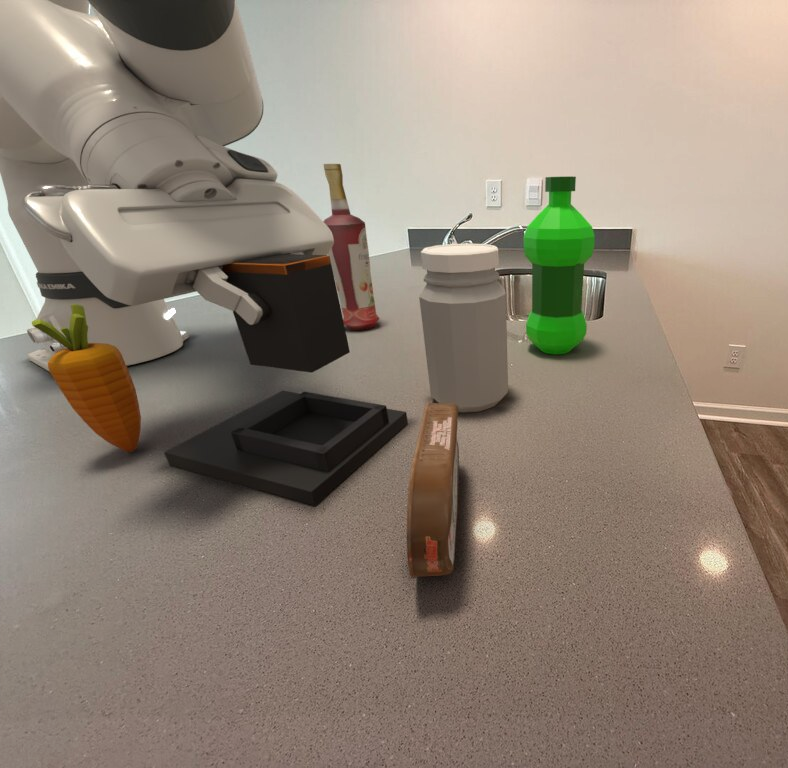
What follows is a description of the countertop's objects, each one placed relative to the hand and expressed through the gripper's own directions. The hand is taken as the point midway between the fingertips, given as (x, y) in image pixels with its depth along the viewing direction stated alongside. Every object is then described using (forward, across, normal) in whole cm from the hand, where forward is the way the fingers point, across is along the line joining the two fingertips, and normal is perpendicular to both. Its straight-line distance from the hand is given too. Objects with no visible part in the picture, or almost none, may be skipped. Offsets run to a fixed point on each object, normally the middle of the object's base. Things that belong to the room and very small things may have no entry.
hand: (293, 307), depth 36 cm
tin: (+22, -6, -1) cm, 23 cm away
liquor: (-6, +36, +27) cm, 45 cm away
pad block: (+3, 0, +4) cm, 5 cm away
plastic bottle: (+22, +34, -1) cm, 41 cm away
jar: (+17, +14, +4) cm, 23 cm away
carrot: (-3, -7, +24) cm, 25 cm away
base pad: (+8, 0, +13) cm, 15 cm away
